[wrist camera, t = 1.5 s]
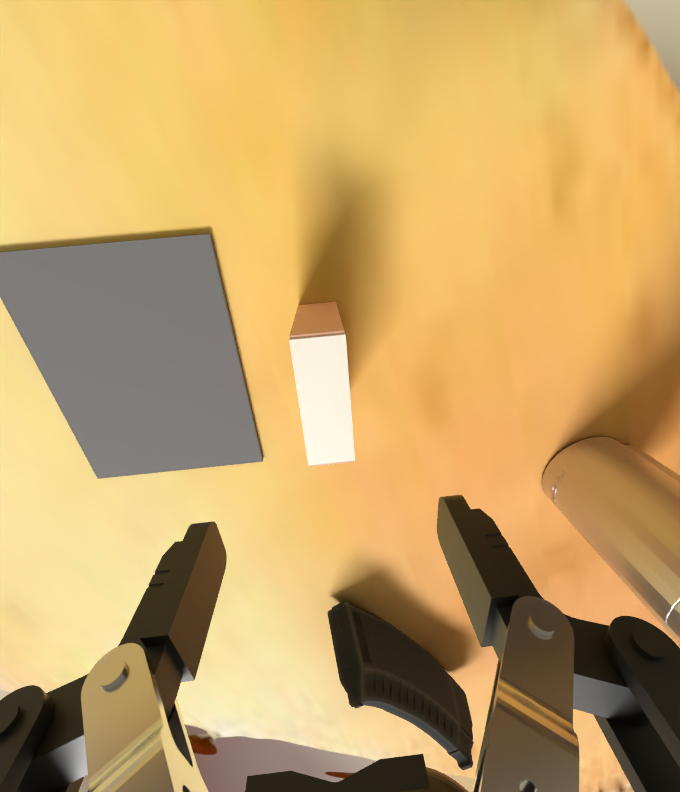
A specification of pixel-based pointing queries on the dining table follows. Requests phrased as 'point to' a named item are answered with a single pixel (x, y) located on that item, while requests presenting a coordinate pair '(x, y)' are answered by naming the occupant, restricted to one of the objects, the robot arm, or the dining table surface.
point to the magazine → (400, 679)
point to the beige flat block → (322, 383)
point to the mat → (136, 351)
